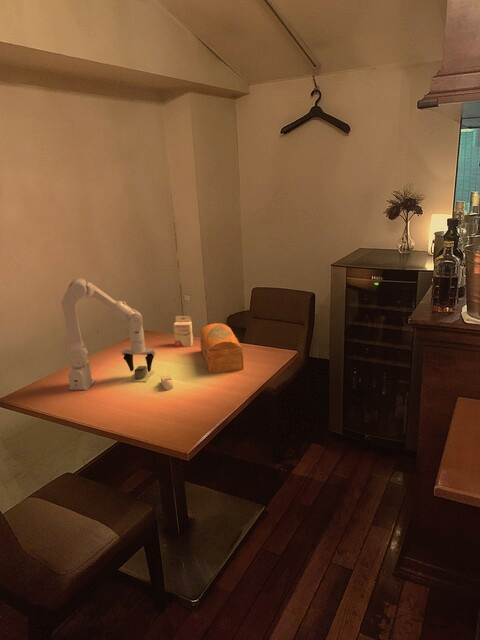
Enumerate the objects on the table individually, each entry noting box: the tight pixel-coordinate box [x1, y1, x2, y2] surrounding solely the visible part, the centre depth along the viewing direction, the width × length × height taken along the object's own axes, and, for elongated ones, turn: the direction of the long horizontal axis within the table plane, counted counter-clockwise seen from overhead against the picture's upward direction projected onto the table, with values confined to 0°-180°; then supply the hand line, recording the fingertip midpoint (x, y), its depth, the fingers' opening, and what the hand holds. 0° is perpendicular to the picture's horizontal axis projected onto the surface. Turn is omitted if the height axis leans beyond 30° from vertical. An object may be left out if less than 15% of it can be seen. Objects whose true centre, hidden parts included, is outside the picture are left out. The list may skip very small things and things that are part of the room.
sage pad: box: [127, 370, 155, 383], centre depth 200 cm, size 11×8×1 cm
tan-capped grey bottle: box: [133, 365, 148, 380], centre depth 200 cm, size 9×4×4 cm, turn 172°
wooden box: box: [199, 322, 245, 375], centre depth 213 cm, size 30×16×14 cm, turn 11°
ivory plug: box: [160, 374, 174, 391], centre depth 189 cm, size 9×4×4 cm, turn 22°
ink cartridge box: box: [173, 315, 194, 347], centre depth 236 cm, size 9×5×15 cm, turn 84°
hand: (140, 370), depth 199 cm, fingers open, 7 cm apart
